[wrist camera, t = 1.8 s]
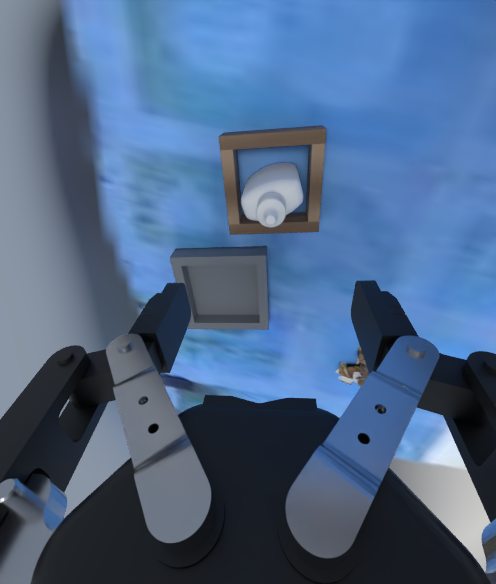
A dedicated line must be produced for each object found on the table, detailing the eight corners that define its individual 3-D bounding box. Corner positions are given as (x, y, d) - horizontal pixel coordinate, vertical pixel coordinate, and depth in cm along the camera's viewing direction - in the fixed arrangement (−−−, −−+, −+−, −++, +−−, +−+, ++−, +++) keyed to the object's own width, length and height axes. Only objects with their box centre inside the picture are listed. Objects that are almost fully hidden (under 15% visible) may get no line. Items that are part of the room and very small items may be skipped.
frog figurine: (346, 329, 43) (352, 347, 40) (419, 346, 44) (430, 366, 41) (318, 374, 50) (321, 393, 47) (382, 389, 51) (388, 408, 48)
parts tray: (175, 248, 37) (169, 257, 35) (266, 246, 36) (265, 255, 34) (192, 318, 44) (188, 328, 42) (269, 318, 43) (268, 329, 41)
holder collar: (223, 132, 29) (218, 136, 26) (322, 125, 28) (326, 128, 25) (233, 224, 35) (229, 234, 32) (315, 221, 33) (318, 231, 31)
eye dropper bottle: (292, 204, 33) (298, 252, 23) (245, 195, 32) (230, 238, 23) (303, 164, 30) (315, 198, 20) (251, 154, 30) (238, 183, 20)
